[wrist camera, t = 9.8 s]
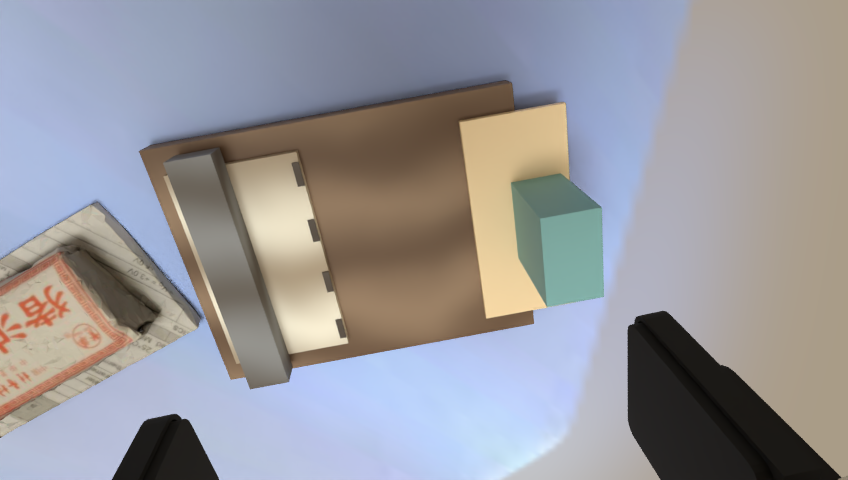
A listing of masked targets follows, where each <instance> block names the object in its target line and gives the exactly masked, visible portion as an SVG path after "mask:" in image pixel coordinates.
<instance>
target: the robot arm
mask: <svg viewBox="0 0 848 480" xmlns="http://www.w3.org/2000/svg"><path fill="white" fill-rule="evenodd" d="M628 422H629V426H630V429H631V432H632V434H633V436H634V438H635V439H636V441H637V443H638V444H639V446H640V447H641V449H642V451H643V452H644V454H645V455H646V457H647V459H648V460H649V462H650V463H651V465H652V467H653V468H654V470H655V471H656V473H657V475H658V476H659V478H660V479H661V480H848V476H846V477H843V478H841V477H840V476H839V475H838V474H837V473H836V472H835V471H834V470H833V469H832V468H831V467H830V466H829V465H828V464H827V463H826V462H825V461H824V460H823V459H822V458H821V457H820V456H819V455H818V454H817V453H816V452H815V451H814V450H813V449H812V448H811V447H810V446H809V445H808V444H807V443H806V442H805V441H804V440H803V439H802V438H801V437H800V436H799V435H798V434H797V433H796V432H795V431H794V430H793V429H792V428H791V427H790V426H789V425H788V424H787V423H786V422H785V421H784V420H783V419H782V418H781V417H780V416H779V415H778V414H777V413H776V412H775V411H774V410H773V409H772V408H771V407H770V406H769V405H768V404H766V402H764V401H763V400H762V399H761V398H760V397H759V396H758V395H757V394H756V393H755V392H754V391H753V390H752V389H751V388H750V387H749V386H748V385H747V384H746V383H745V382H744V381H743V380H742V379H741V378H740V377H739V376H738V375H737V374H736V373H735V372H734V371H733V370H731V369H730V368H729V367H726V366H723V365H721V366H720V365H719V364H718V363H717V362H716V361H715V360H714V358H712V357H711V356H710V354H709V353H708V352H707V351H705V350H704V348H703V347H702V346H701V345H699V344H698V342H697V341H696V340H695V339H694V338H692V337H691V335H690V334H689V333H688V332H687V331H686V330H685V329H684V328H683V327H682V326H681V325H680V324H679V323H678V322H677V321H676V320H675V319H674V318H673V317H672V316H671V315H670V314H669V313H667V312H666V311H660V312H656V313H651V314H646V315H641V316H638V317H636V319H635V323H634V324H632V325H630V326H629V327H628ZM112 480H219V478H218V476H217V474H216V472H215V470H214V468H213V466H212V464H211V462H210V460H209V458H208V456H207V454H206V453H205V451H204V449H203V447H202V445H201V443H200V441H199V439H198V437H197V435H196V433H195V431H194V429H193V427H192V425H191V423H190V422H189V420H187V419H181V417H180V416H179V415H177V414H171V415H166V416H162V417H157V418H152V419H148V420H146V421H144V423H143V424H142V425H141V427H140V429H139V431H138V432H137V434H136V436H135V438H134V440H133V442H132V443H131V445H130V447H129V449H128V451H127V453H126V455H125V456H124V458H123V460H122V462H121V464H120V466H119V467H118V469H117V471H116V473H115V475H114V477H113V479H112Z"/></svg>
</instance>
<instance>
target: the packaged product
mask: <svg viewBox="0 0 848 480" xmlns="http://www.w3.org/2000/svg"><path fill="white" fill-rule="evenodd" d="M200 319H201V318H200V317H199V315H198V314H197V312H196V311H195V310H194V309H193V308H192V307H191V306H190V304H189V303H188V302H187V301H186V300H185V299H184V297H183V296H182V295H181V294H180V293H179V292H178V291H177V289H176V288H175V287H174V286H173V285H172V284H171V283H170V281H169V280H168V279H167V278H166V277H165V276H164V275H163V273H162V272H161V271H160V270H159V269H158V267H157V266H156V265H155V264H154V263H153V261H152V260H151V259H150V258H149V257H148V256H147V254H146V253H145V252H144V251H143V250H142V249H141V248H140V246H139V245H138V244H137V243H136V242H135V241H134V239H133V238H132V237H131V236H130V235H129V234H128V233H127V231H126V230H125V229H124V228H123V227H122V226H121V225H120V223H119V222H118V221H117V220H116V219H115V218H113V217H112V216H111V215H110V214H109V213H108V212H107V211H106V210H105V209H104V208H103V207H102V206H101V205H100V204H99V203H98V202H97V203H94V204H92V205H90V206H88V207H86V208H85V209H83V210H81V211H79V212H78V213H76V214H74V215H73V216H71V217H69V218H67V219H66V220H64V221H62V222H60V223H59V224H57V225H55V226H53V227H52V228H50V229H48V230H46V231H45V232H43V233H41V234H40V235H38V236H37V237H35V238H34V239H32V240H31V241H29V242H28V243H26V244H24V245H23V246H21V247H20V248H18V249H17V250H15V251H13V252H12V253H10V254H9V255H7V256H6V257H4V258H3V259H1V260H0V438H1V437H2V436H4V435H6V434H7V433H9V432H10V431H13V430H14V429H16V428H18V427H19V426H21V425H23V424H25V423H27V422H29V421H30V420H32V419H34V418H36V417H37V416H39V415H41V414H43V413H45V412H47V411H48V410H50V409H52V408H53V407H56V406H58V405H59V404H61V403H63V402H65V401H66V400H68V399H70V398H71V397H74V396H76V395H78V394H80V393H82V392H84V391H85V390H87V389H89V388H90V387H92V386H94V385H96V384H98V383H100V382H101V381H103V380H105V379H106V378H108V377H110V376H112V375H113V374H115V373H117V372H119V371H121V370H123V369H124V368H126V367H127V366H129V365H131V364H133V363H135V362H137V361H139V360H141V359H143V358H145V357H147V356H148V355H150V354H152V353H154V352H155V351H157V350H159V349H161V348H163V347H165V346H166V345H168V344H170V343H172V342H174V341H176V340H177V339H178V338H180V337H182V336H184V335H186V334H188V333H190V332H192V331H194V330H196V329H197V328H198V326H199V322H200Z"/></svg>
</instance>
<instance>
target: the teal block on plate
mask: <svg viewBox="0 0 848 480" xmlns="http://www.w3.org/2000/svg"><path fill="white" fill-rule="evenodd" d="M459 128H460V136H461V143H462V150H463V158H464V165H465V172H466V179H467V187H468V194H469V201H470V209H471V216H472V223H473V231H474V238H475V245H476V253H477V260H478V267H479V274H480V282H481V289H482V296H483V304H484V311H485V316H486V319H487V318H493V317H498V316H503V315H509V314H514V313H520V312H525V311H531V310H536V309H541V308H547V307H552V306H558V305H563V304H568V303H574V302H578V301H584V300H589V299H595V298H600V297H604V283H603V241H602V207H601V206H599V205H598V204H597V203H596V202H595V201H593V200H592V199H591V198H590V197H589V196H587V195H586V194H585V193H584V192H583V191H581V190H580V189H579V188H578V187H577V186H575V185H574V184H573V183H572V182H571V181H570V177H569V157H568V137H567V118H566V103H564V102H559V103H554V104H548V105H543V106H537V107H532V108H526V109H521V110H515V111H510V112H504V113H499V114H493V115H488V116H482V117H477V118H471V119H466V120H460V121H459Z"/></svg>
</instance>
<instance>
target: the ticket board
mask: <svg viewBox="0 0 848 480" xmlns="http://www.w3.org/2000/svg"><path fill="white" fill-rule="evenodd" d="M510 111H515V110H514V99H513V88H512V83H511V82H509V81H506V80H505V81H500V82H494V83H489V84H483V85H478V86H472V87H467V88H461V89H456V90H450V91H445V92H439V93H434V94H428V95H423V96H417V97H412V98H406V99H401V100H395V101H390V102H384V103H379V104H373V105H368V106H363V107H357V108H352V109H346V110H341V111H335V112H330V113H324V114H319V115H313V116H308V117H302V118H297V119H291V120H286V121H280V122H275V123H269V124H264V125H258V126H253V127H247V128H242V129H236V130H231V131H225V132H220V133H214V134H209V135H203V136H198V137H193V138H187V139H182V140H176V141H171V142H165V143H160V144H154V145H150V146H148V147H146V148H144V149H142V150H140V151H139V152H140V155H141V157H142V160H143V162H144V165H145V167H146V170H147V172H148V175H149V177H150V180H151V182H152V185H153V187H154V190H155V192H156V195H157V197H158V200H159V202H160V205H161V207H162V210H163V212H164V215H165V217H166V220H167V222H168V225H169V227H170V230H171V232H172V235H173V237H174V240H175V242H176V244H177V247H178V249H179V252H180V254H181V257H182V259H183V262H184V264H185V267H186V269H187V272H188V274H189V277H190V279H191V282H192V284H193V287H194V289H195V292H196V294H197V297H198V299H199V302H200V304H201V307H202V309H203V312H204V314H205V317H206V319H207V322H208V324H209V327H210V329H211V332H212V334H213V337H214V339H215V342H216V344H217V347H218V349H219V351H220V354H221V356H222V359H223V361H224V364H225V366H226V369H227V371H228V374H229V376H230V379H231V380H232V379H237V378H243V377H246V380H247V382H248V385H249V387H250V389H254V388H259V387H264V386H270V385H275V384H281V383H286V382H289V379H290V375H291V371H292V368H297V367H302V366H308V365H313V364H319V363H324V362H330V361H335V360H340V359H346V358H351V357H357V356H362V355H367V354H373V353H378V352H384V351H389V350H394V349H400V348H405V347H411V346H416V345H422V344H427V343H432V342H438V341H443V340H449V339H454V338H459V337H465V336H470V335H476V334H481V333H487V332H492V331H497V330H503V329H508V328H514V327H519V326H524V325H530V324H534V318H533V310H531V311H525V312H520V313H514V314H509V315H503V316H498V317H493V318H487V319H486V316H485V311H484V304H483V296H482V289H481V282H480V274H479V267H478V260H477V253H476V245H475V238H474V231H473V223H472V216H471V209H470V201H469V194H468V187H467V179H466V172H465V165H464V158H463V150H462V143H461V136H460V128H459V121H460V120H466V119H471V118H477V117H482V116H488V115H493V114H499V113H504V112H510Z"/></svg>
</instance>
